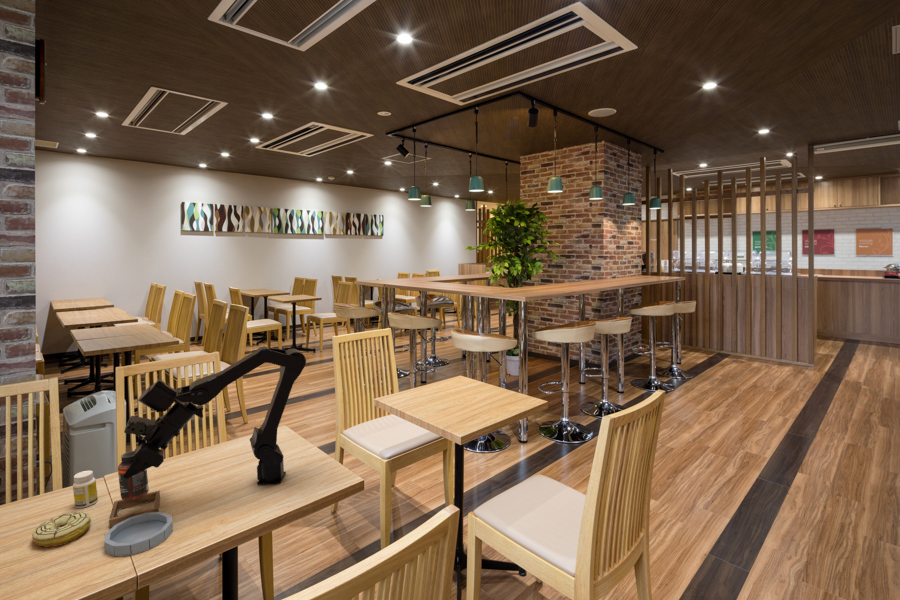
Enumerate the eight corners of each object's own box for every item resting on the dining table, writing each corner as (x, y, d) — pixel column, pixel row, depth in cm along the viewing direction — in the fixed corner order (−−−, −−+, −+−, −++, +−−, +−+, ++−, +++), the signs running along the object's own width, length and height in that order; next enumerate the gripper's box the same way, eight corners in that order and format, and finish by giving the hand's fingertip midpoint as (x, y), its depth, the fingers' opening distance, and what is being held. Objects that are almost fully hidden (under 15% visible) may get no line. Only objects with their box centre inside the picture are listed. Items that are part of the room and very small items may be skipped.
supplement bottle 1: (96, 496, 124) (93, 467, 123) (99, 503, 121) (96, 473, 120) (74, 503, 121) (70, 473, 120) (76, 510, 118) (72, 480, 117)
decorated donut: (72, 519, 114) (71, 505, 114) (101, 527, 111) (100, 512, 110) (22, 544, 104) (20, 529, 104) (53, 554, 101) (51, 538, 100)
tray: (160, 498, 123) (159, 490, 123) (158, 516, 115) (157, 508, 114) (115, 508, 118) (114, 500, 118) (109, 528, 110) (108, 520, 109)
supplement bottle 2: (154, 489, 119) (150, 448, 117) (136, 502, 113) (132, 459, 111) (133, 489, 119) (129, 448, 118) (114, 501, 113) (110, 458, 112)
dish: (182, 519, 113) (181, 510, 113) (153, 553, 100) (153, 543, 100) (127, 522, 112) (126, 513, 112) (91, 557, 99) (90, 547, 99)
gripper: (147, 395, 123) (101, 442, 119) (142, 416, 107) (88, 472, 103) (183, 417, 128) (140, 463, 124) (183, 440, 112) (133, 494, 108)
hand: (126, 472), depth 115 cm, fingers closed on supplement bottle 2, 6 cm apart
